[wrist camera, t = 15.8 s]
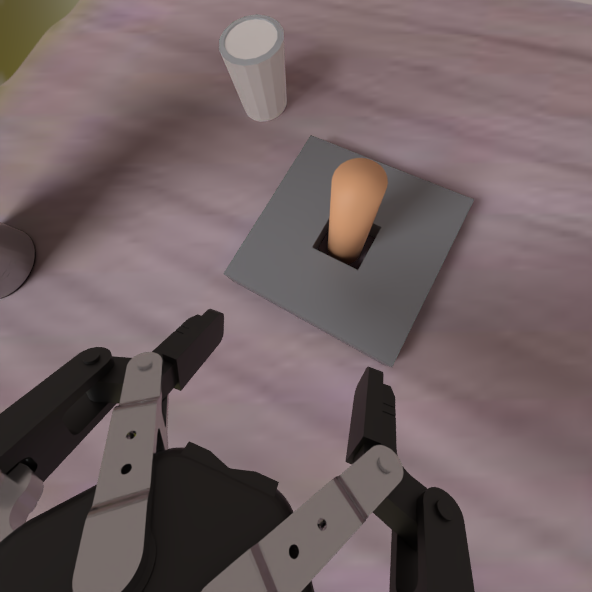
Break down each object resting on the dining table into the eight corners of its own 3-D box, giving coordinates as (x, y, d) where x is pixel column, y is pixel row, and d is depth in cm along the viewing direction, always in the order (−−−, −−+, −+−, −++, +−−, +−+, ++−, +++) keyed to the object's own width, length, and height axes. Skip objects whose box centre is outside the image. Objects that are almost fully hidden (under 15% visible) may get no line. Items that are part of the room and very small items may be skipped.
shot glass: (295, 82, 33) (289, 12, 26) (287, 127, 31) (277, 64, 25) (245, 81, 34) (225, 13, 27) (234, 124, 32) (211, 64, 25)
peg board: (232, 280, 28) (223, 273, 25) (311, 152, 30) (310, 135, 28) (384, 365, 24) (392, 367, 22) (460, 213, 27) (474, 199, 24)
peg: (321, 255, 27) (321, 193, 17) (337, 227, 28) (347, 150, 17) (351, 270, 27) (372, 214, 16) (367, 241, 27) (397, 170, 16)
